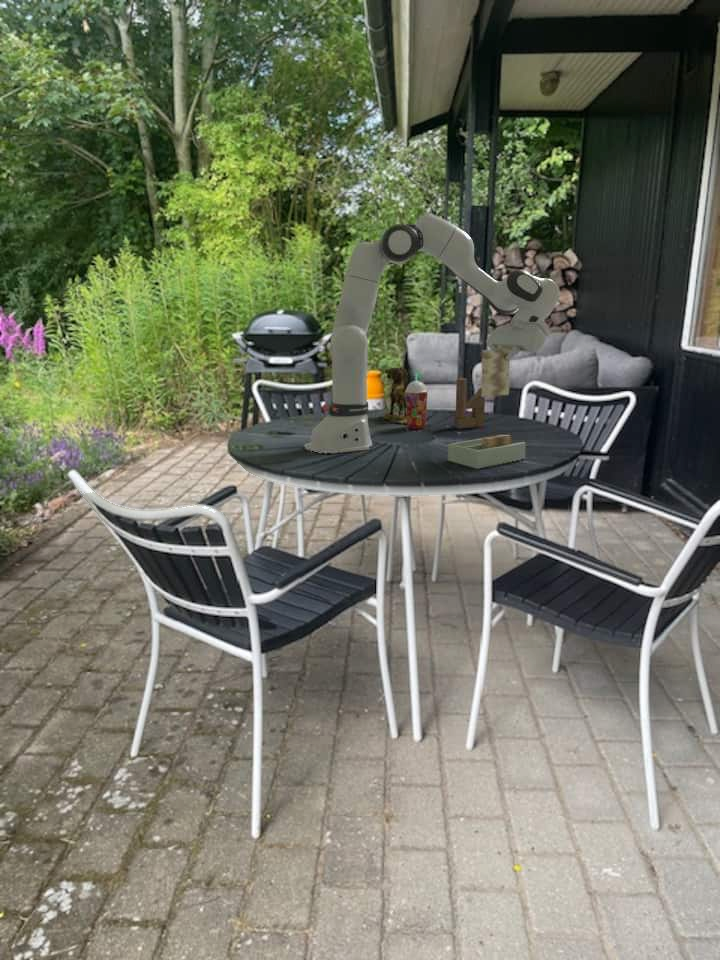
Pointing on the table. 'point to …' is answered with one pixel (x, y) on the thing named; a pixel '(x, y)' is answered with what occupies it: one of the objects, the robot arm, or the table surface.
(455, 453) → the rack
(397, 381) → the figurine
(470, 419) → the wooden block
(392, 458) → the table surface
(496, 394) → the beige brown rectangular slab
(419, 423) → the smoothie
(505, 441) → the offcut stack
